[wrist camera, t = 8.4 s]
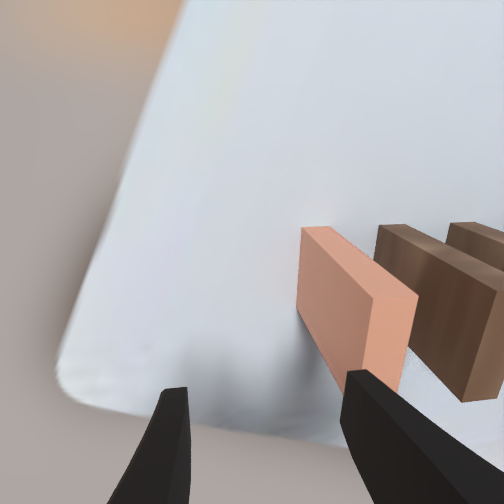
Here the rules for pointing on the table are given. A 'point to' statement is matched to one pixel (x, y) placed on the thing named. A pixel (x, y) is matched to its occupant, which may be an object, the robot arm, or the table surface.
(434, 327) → the walnut domino
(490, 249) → the walnut domino
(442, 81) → the table surface
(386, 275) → the terracotta domino
